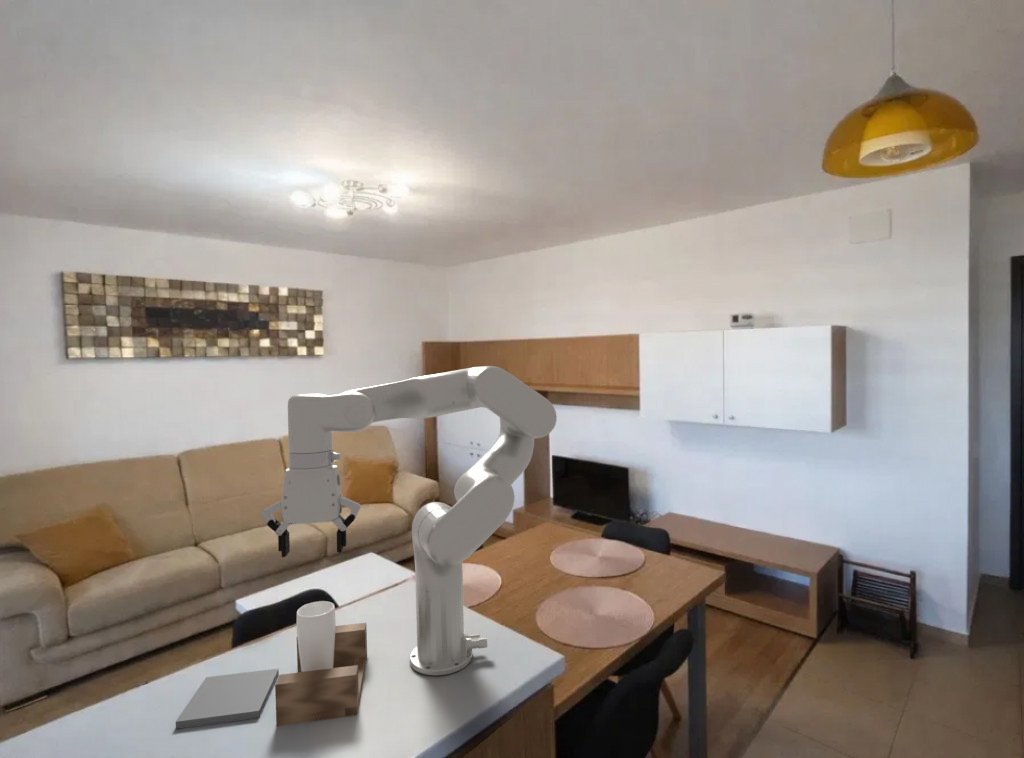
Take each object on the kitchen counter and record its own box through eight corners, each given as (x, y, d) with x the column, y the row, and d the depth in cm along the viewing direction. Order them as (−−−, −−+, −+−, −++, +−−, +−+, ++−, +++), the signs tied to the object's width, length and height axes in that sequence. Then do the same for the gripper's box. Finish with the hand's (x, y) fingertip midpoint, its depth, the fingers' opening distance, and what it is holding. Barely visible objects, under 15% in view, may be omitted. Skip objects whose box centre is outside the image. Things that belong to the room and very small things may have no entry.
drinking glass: (324, 701, 93) (322, 618, 93) (290, 697, 95) (288, 615, 95) (344, 679, 100) (342, 601, 100) (312, 676, 101) (310, 599, 101)
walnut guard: (367, 656, 108) (366, 622, 108) (357, 715, 90) (356, 674, 89) (300, 664, 106) (299, 629, 106) (276, 726, 87) (275, 684, 87)
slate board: (278, 674, 102) (278, 668, 102) (259, 717, 89) (259, 710, 89) (206, 683, 100) (206, 677, 100) (175, 728, 87) (175, 721, 87)
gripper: (361, 455, 102) (363, 542, 102) (266, 459, 99) (269, 549, 99) (357, 461, 95) (359, 555, 95) (254, 466, 92) (257, 563, 92)
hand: (313, 552), depth 97 cm, fingers open, 9 cm apart
